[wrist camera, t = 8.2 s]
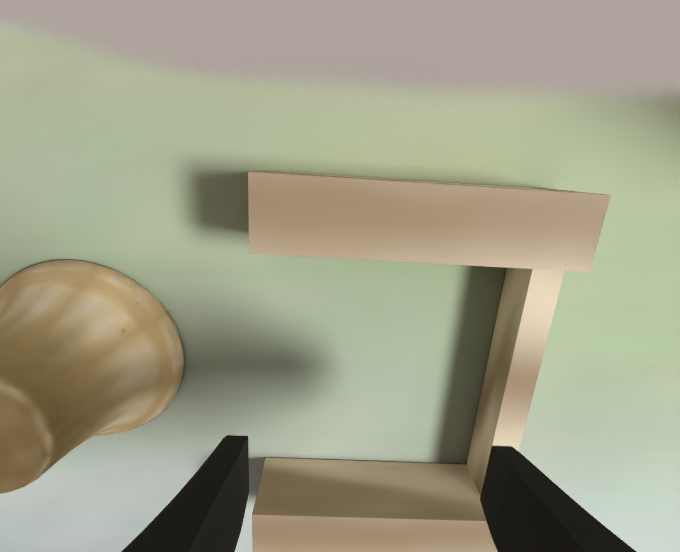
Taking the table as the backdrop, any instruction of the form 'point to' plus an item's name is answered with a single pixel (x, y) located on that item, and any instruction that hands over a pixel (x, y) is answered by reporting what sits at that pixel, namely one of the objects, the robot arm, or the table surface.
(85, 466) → the table surface
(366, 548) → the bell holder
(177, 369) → the hand bell
